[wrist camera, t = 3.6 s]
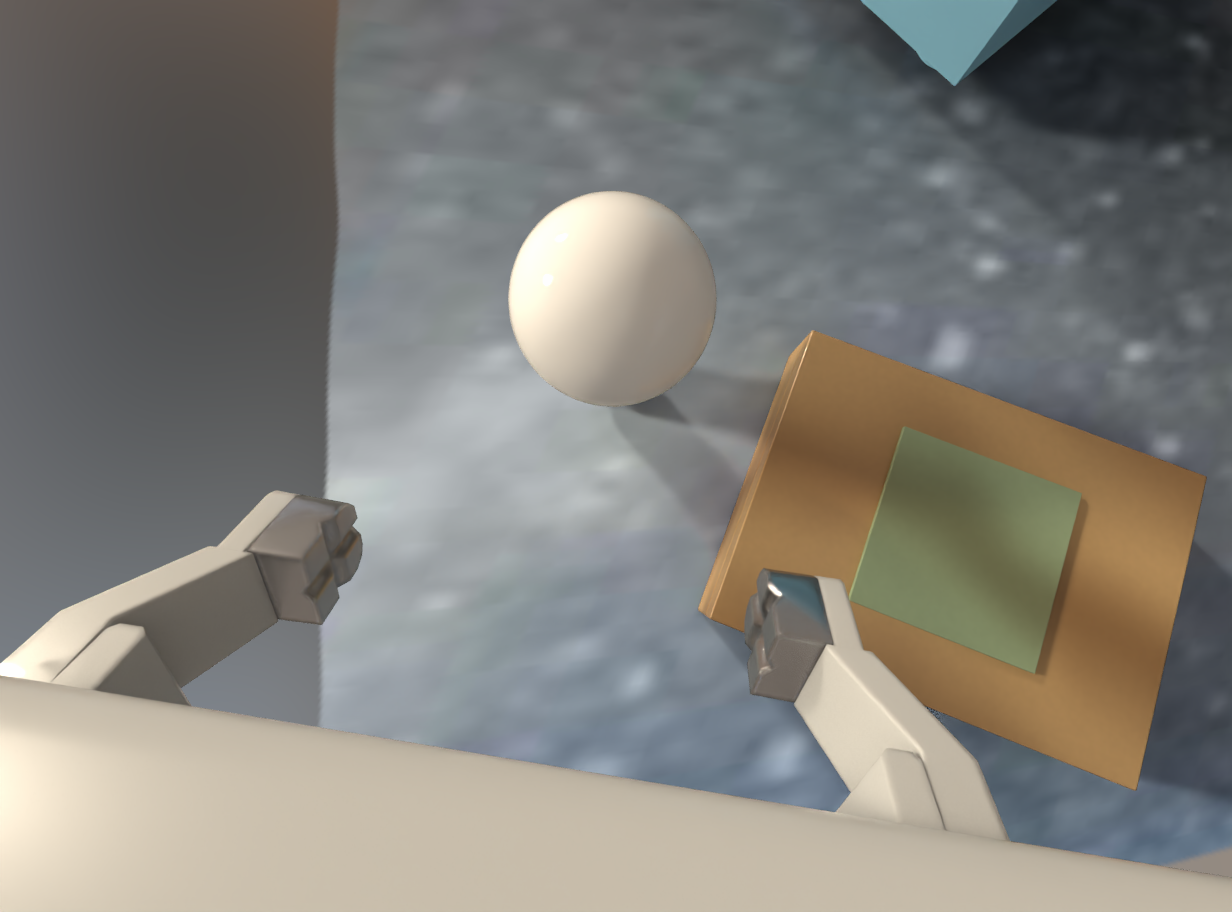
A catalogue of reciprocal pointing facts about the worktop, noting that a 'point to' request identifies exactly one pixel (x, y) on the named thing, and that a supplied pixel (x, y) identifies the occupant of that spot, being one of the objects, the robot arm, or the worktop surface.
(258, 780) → the robot arm
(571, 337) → the lightbulb
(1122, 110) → the worktop surface
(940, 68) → the teakettle
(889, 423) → the shelf
